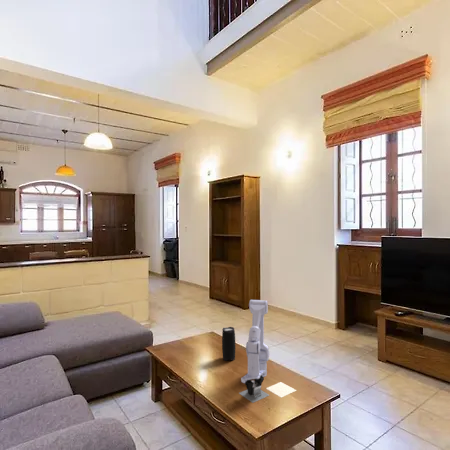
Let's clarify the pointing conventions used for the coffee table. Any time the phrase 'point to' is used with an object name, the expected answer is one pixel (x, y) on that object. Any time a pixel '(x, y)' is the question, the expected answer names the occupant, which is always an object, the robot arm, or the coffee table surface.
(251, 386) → the robot arm
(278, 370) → the coffee table surface
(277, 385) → the stand
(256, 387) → the block
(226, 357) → the portable speaker
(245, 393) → the stand
